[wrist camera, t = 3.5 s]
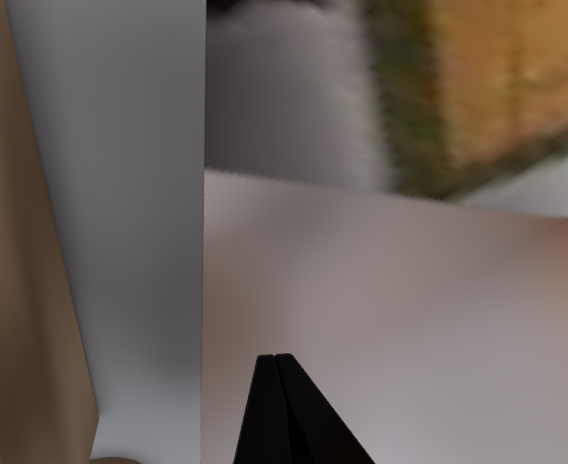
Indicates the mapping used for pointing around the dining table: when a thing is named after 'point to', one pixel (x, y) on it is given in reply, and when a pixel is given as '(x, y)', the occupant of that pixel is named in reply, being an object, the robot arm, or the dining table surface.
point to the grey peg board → (126, 204)
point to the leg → (35, 301)
